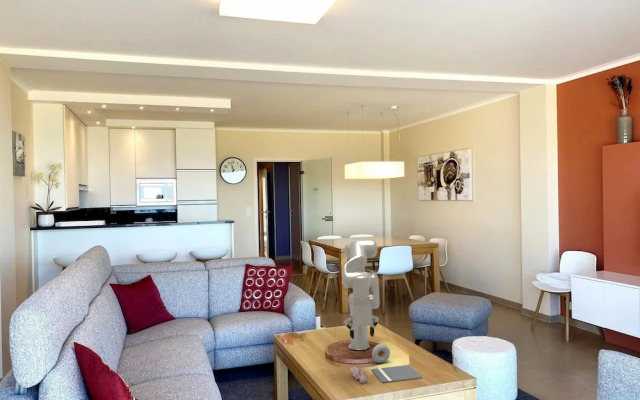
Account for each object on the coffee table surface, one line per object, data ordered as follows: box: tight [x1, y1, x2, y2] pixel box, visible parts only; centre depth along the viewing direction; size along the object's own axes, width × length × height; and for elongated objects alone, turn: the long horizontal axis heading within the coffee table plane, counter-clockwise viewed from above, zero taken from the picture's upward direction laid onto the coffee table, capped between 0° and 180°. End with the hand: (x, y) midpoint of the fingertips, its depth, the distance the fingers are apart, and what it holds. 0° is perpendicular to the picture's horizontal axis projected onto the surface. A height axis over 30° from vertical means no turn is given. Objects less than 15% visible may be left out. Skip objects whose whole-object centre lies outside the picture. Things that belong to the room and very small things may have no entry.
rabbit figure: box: [349, 366, 370, 385], centre depth 228 cm, size 6×6×15 cm
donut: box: [371, 343, 391, 364], centre depth 248 cm, size 10×4×10 cm, turn 108°
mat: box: [371, 364, 423, 384], centre depth 233 cm, size 16×20×1 cm
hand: (362, 337), depth 227 cm, fingers open, 9 cm apart
